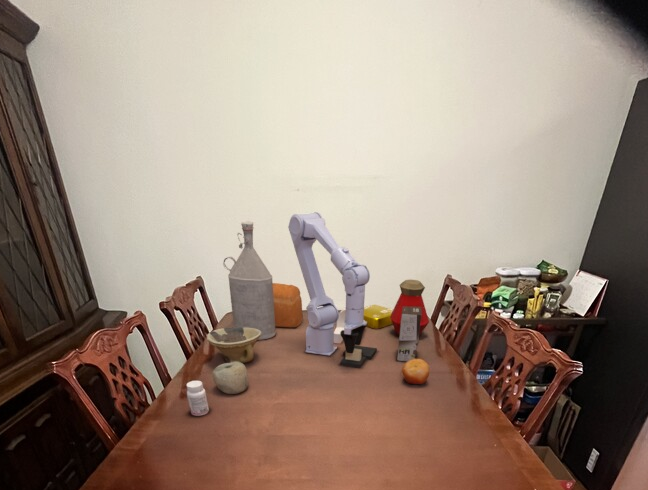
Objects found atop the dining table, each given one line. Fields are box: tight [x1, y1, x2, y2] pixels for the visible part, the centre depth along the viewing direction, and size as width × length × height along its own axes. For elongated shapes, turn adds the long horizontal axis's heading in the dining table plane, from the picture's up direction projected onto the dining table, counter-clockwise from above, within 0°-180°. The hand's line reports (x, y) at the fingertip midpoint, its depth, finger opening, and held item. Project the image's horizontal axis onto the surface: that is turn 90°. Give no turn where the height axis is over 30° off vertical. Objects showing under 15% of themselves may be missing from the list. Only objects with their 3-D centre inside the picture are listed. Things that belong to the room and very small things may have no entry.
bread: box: [273, 282, 303, 328], centre depth 170 cm, size 14×26×16 cm, turn 79°
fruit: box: [401, 358, 430, 385], centre depth 126 cm, size 8×8×8 cm
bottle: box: [390, 279, 430, 337], centre depth 157 cm, size 16×14×20 cm
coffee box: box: [396, 306, 422, 362], centre depth 139 cm, size 9×6×16 cm
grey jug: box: [222, 220, 277, 341], centre depth 151 cm, size 13×17×40 cm
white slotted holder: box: [334, 306, 365, 344], centre depth 158 cm, size 10×18×11 cm, turn 169°
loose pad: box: [339, 349, 367, 369], centre depth 139 cm, size 7×9×5 cm
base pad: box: [342, 345, 378, 360], centre depth 146 cm, size 10×8×1 cm
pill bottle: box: [186, 380, 210, 417], centre depth 109 cm, size 5×5×8 cm
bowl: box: [206, 326, 261, 364], centre depth 139 cm, size 18×18×10 cm
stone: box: [211, 362, 249, 395], centre depth 121 cm, size 10×10×10 cm
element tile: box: [363, 304, 393, 330], centre depth 174 cm, size 15×15×5 cm
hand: (353, 348), depth 137 cm, fingers open, 7 cm apart
